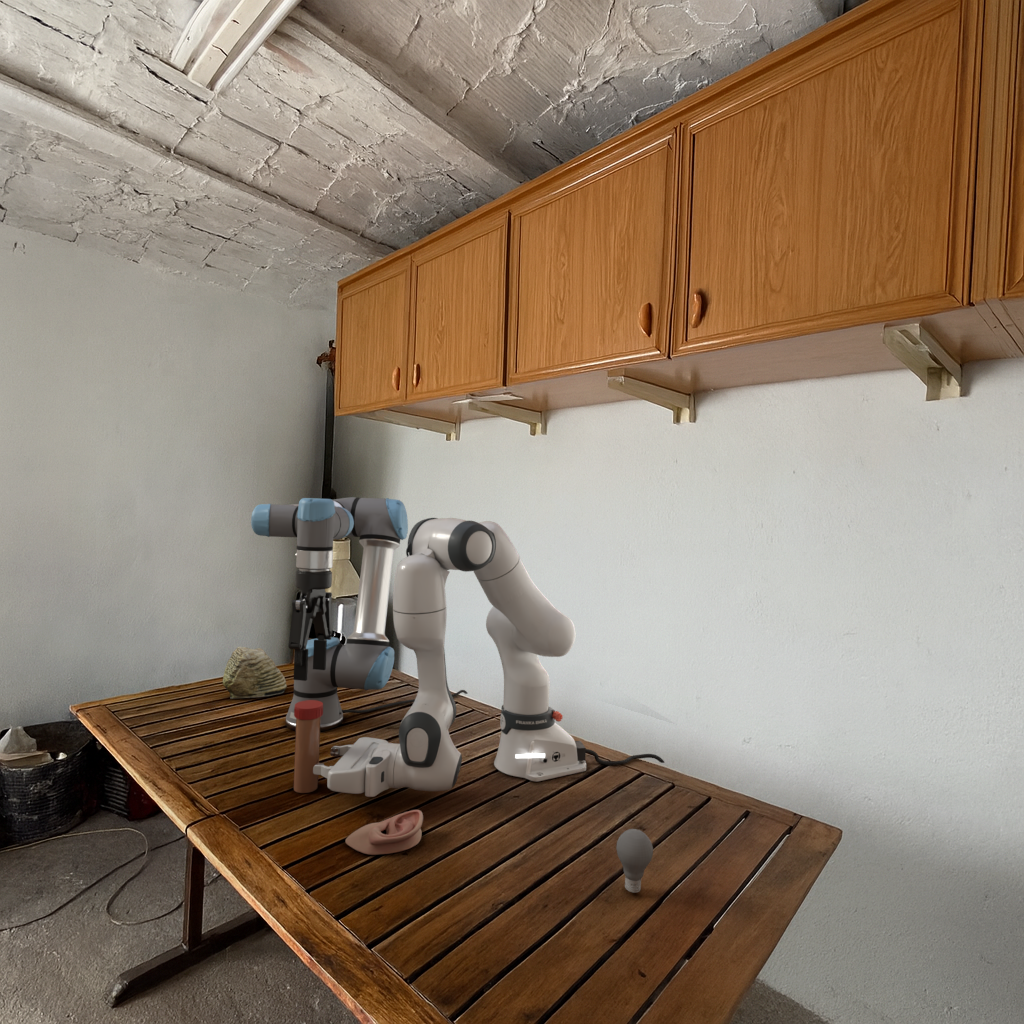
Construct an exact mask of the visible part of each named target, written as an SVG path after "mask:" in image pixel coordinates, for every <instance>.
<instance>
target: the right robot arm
mask: <svg viewBox="0 0 1024 1024" xmlns="http://www.w3.org/2000/svg"><path fill="white" fill-rule="evenodd" d="M405 554H406V557H404V558H402V559H400V561H399V562H398V564H397V565H396V567H395V573H394V578H393V579H394V580H393V589H392V619H393V620H392V621H393V627H394V631H395V635H396V639H397V640H398V642H399V643H400V644H401V645H402V646H404V647H405V648H407V649H409V650H412V651H413V653H414V654H415V657H416V667H417V669H416V670H417V680H418V690H417V693H416V696H415V698H414V699H415V700H414V702H412V705H411V707H410V708H409V709H408V711H407V712H406V714H405V715H404V717H403V718H402V720H401V722H400V724H399V728H398V740H399V743H392V742H389V741H388V740H386V739H382V738H377V737H376V738H375V737H369V736H363V737H359V738H358V739H357V740H356V741H355V742H354V743H353V744H345V745H333V746H332V747H331V749H330V756H331V757H337V758H338V757H339V756H341V758H339V759H338V761H337V762H336V763H335V764H334V765H329V766H328V765H325V763H322V762H319V763H317V764H316V765H315V766H314V767H313V773H314V774H317V775H318V776H322V777H323V778H325V779H327V781H326V782H327V783H326V785H327V789H329V790H330V791H332V792H336V793H343V794H353V795H359V794H363V793H364V796H365V797H368V798H374V797H376V796H377V795H379V794H380V793H383V792H384V791H388V790H389V789H402V788H407V789H412V790H413V791H414V790H415V791H420V792H446V791H449V790H451V789H452V788H454V786H455V785H456V784H457V781H458V778H459V775H460V773H461V767H462V762H463V755H462V753H461V752H460V751H459V750H458V749H457V747H456V745H455V743H454V741H453V740H452V738H451V735H450V732H449V729H450V728H451V726H452V725H453V724H454V722H455V720H456V718H457V706H456V705H457V704H456V701H455V699H454V697H452V695H451V694H452V693H451V690H450V688H449V684H448V679H447V678H448V677H447V676H448V675H447V664H446V652H445V642H446V641H445V640H446V632H447V609H448V608H447V595H446V594H447V593H446V583H447V579H448V577H449V574H450V570H453V571H461V572H465V573H467V572H473V573H474V575H475V577H476V579H477V581H478V583H479V585H480V587H481V588H482V590H483V592H484V594H485V597H486V598H487V600H488V601H489V603H490V605H492V607H491V608H490V610H489V611H488V613H487V616H486V619H485V627H486V631H487V634H488V635H489V637H490V638H491V639H492V641H493V642H494V644H495V647H496V649H497V652H498V655H499V660H500V662H501V667H502V673H503V674H502V675H503V701H502V702H503V704H502V705H501V710H500V720H499V724H500V726H499V727H500V737H499V745H498V748H497V753H496V756H495V758H494V761H493V766H494V768H495V769H497V770H498V771H499V772H501V773H502V774H506V775H508V776H513V777H517V778H521V779H522V778H523V779H526V780H529V781H531V782H537V783H538V782H541V781H546V780H551V779H555V778H560V777H565V776H570V775H574V774H578V773H583V772H586V771H587V762H586V754H590V755H592V756H593V758H594V760H595V762H596V763H598V764H600V765H604V766H619V765H620V766H622V765H625V764H628V763H630V762H631V761H633V760H640V759H654V760H657V761H658V762H659V763H661V764H664V763H665V760H664V759H663V758H662V757H661V756H659V755H657V754H653V753H642V754H633V755H630V756H628V757H627V758H625V759H622V760H613V761H606V760H602V759H601V758H599V754H598V753H597V752H596V751H594V750H592V749H588V748H587V747H586V746H585V745H584V744H583V742H582V741H581V740H575V739H574V737H573V736H572V735H571V734H570V733H569V732H568V731H566V730H565V729H564V728H563V727H562V726H560V725H559V724H558V723H557V722H562V720H563V718H564V715H563V714H562V713H561V712H560V711H558V710H555V709H554V708H553V707H551V706H549V704H550V687H551V685H550V684H551V681H550V680H551V679H550V675H549V674H548V671H547V670H546V669H545V667H543V665H542V663H541V661H540V658H539V656H540V657H545V658H548V657H549V658H554V657H555V658H560V657H564V656H565V655H567V654H568V653H569V652H570V651H571V650H572V648H573V646H574V645H575V641H576V635H577V634H576V626H575V624H574V622H573V620H572V619H571V618H570V617H568V616H567V615H566V614H564V613H563V612H561V611H560V610H559V609H558V608H557V607H555V606H554V604H553V603H552V602H551V601H550V600H549V599H548V598H547V597H546V596H545V595H544V593H543V592H542V591H541V590H540V589H539V587H537V585H536V583H534V581H533V579H532V578H531V575H530V574H529V572H528V571H527V568H526V567H525V565H524V563H523V560H522V558H521V556H520V554H519V553H518V551H517V548H516V546H515V545H514V543H513V541H511V539H510V537H509V536H508V534H507V533H506V531H505V530H504V529H503V528H502V526H500V525H499V524H498V523H497V522H495V521H490V520H486V521H481V522H478V521H476V520H475V521H474V520H466V519H462V518H456V517H444V518H443V517H441V518H438V517H429V518H424V519H422V520H420V521H418V522H416V523H415V524H414V525H413V526H412V528H411V530H410V532H409V535H408V539H407V546H406V550H405ZM555 721H556V722H555Z"/></svg>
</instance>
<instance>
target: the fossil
mask: <svg viewBox="0 0 1024 1024" xmlns="http://www.w3.org/2000/svg"><path fill="white" fill-rule="evenodd" d="M222 676H223V677H222V685H223V687H224V688H225V690H226V691H228V693H229V698H230V699H250V698H264V697H271V696H275V695H281V694H284V693H285V691H286V689H287V687H288V686H287V680H286V678H285V676H284V674H283V673H282V672H281V669H279V668H278V667H277V665H276V663H275V662H274V660H273V659H272V658H271V657H270V656H269V655H268V654H267V653H266V652H265V650H264V649H263V648H260V647H258V648H251V647H247V646H246V647H245V646H238V647H237V648H236V649H235V650H233V651H232V653H231V656H230V657H229V659H228V660H227V663H226V666H225V668H224V671H223V675H222Z"/></svg>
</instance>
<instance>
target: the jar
mask: <svg viewBox="0 0 1024 1024" xmlns="http://www.w3.org/2000/svg"><path fill="white" fill-rule="evenodd" d="M320 720H321V717H319V718H316V719H311V720H301V719H297V718H296V731H295V740H294V741H295V743H294V765H293V766H294V767H293V791H294V792H296V793H298V794H307V793H312V792H315V791H316V790H317V789H318V788H319V775H317V774H314V773H313V767H314V766H315V765H316V764H317V763H320V741H321V731H320Z"/></svg>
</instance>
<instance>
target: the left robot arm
mask: <svg viewBox="0 0 1024 1024" xmlns="http://www.w3.org/2000/svg"><path fill="white" fill-rule="evenodd" d="M250 524H251V529H252V532H253V533H254V534H255V535H257V536H260V537H268V538H270V537H274V538H296V553H295V557H296V558H295V559H296V560H295V561H296V562H295V567H296V568H297V570H296V571H295V576H294V577H295V580H294V585H295V588H297V589H300V595H299V599H293V600H292V602H291V607H292V609H291V610H292V613H291V622H290V631H289V639H288V648H289V650H293V651H294V655H293V695H292V696H293V697H292V699H291V702H290V704H289V708H288V711H287V713H286V715H285V726H286V728H287V729H289V730H291V731H294V732H296V718H295V716H294V708H295V704H296V703H298V702H301V701H306V700H316V701H320V702H322V703H323V715H322V716H321V720H320V732H325V731H329V730H332V729H335V728H337V727H339V726H340V725H342V723H343V722H344V713H347V714H349V713H351V714H353V713H354V714H365V713H369V712H374V711H378V710H380V709H385V708H390V707H393V706H398V705H404V704H409V703H414V700H415V698H412V699H407V700H401V701H396V702H391V703H386V704H382V705H378V706H375V707H371V708H366V709H342V706H341V702H340V699H339V695H338V688H340V689H354V690H364V691H370V690H371V691H372V690H375V691H376V690H377V691H378V690H382V689H383V688H384V687H385V686H386V685H387V684H388V682H389V680H390V677H391V675H392V672H393V668H394V663H395V650H394V648H393V647H391V646H390V640H389V639H388V637H387V636H386V624H387V615H388V607H389V606H388V605H389V597H390V587H391V579H392V571H393V570H392V569H393V562H394V561H393V560H394V552H395V551H396V550H397V549H398V548H399V547H400V546H401V541H403V540H406V539H407V537H408V532H409V520H408V513H407V508H406V506H405V504H404V502H403V501H402V500H400V499H395V498H389V497H385V498H383V497H382V498H379V497H356V496H350V497H342V498H336V499H335V498H334V499H331V498H319V497H318V498H316V497H315V498H314V497H302V498H301V499H300V500H299V501H298V503H294V504H291V503H290V504H276V503H275V504H274V503H273V504H272V503H263V504H262V503H260V504H257V505H256V506H255V507H254V508H253V510H252V512H251V518H250ZM346 537H352V538H353V537H355V538H359V539H358V543H359V544H360V545H361V547H362V549H363V550H362V559H361V566H360V567H361V568H360V576H359V585H358V592H357V601H356V609H355V616H354V624H353V631H352V633H351V634H350V635H348V636H347V638H346V643H345V644H341V641H340V639H339V638H338V637H334V636H333V635H332V634H333V616H332V615H333V614H332V599H333V593H332V591H331V592H329V591H326V590H327V589H330V588H331V587H332V585H333V584H332V583H333V572H332V570H330V569H332V568H333V566H334V565H333V564H334V563H333V562H334V561H333V559H334V540H341V539H343V538H346ZM312 623H313V628H314V633H315V638H312V639H309V637H310V632H311V628H312ZM462 693H464V695H467V694H468V692H467V690H465V689H460V690H458V691H457V692H455V693H451V695H452V697H453V698H454V697H457V696H459V695H460V694H462Z"/></svg>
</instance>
